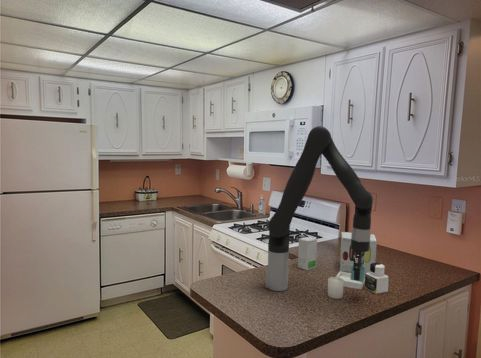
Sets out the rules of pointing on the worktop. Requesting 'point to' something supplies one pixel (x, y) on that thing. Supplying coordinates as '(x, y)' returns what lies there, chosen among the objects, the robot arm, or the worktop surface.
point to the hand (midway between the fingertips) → (357, 277)
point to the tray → (348, 282)
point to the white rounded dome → (335, 287)
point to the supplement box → (348, 253)
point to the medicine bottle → (376, 279)
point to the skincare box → (307, 253)
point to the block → (362, 274)
